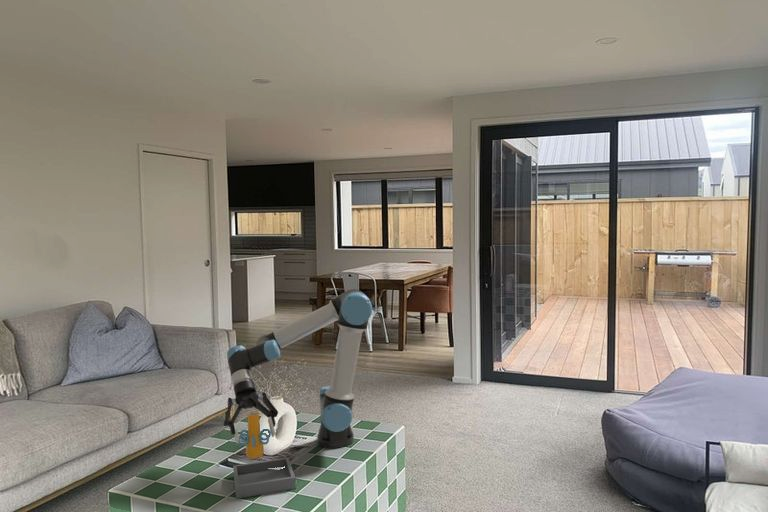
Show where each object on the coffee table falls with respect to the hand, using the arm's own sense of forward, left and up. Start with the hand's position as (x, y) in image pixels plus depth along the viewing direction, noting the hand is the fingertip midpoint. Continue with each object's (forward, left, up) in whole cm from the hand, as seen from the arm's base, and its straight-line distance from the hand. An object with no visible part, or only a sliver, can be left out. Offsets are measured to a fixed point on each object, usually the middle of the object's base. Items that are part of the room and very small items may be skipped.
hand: (256, 438), depth 205 cm
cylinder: (0, -3, -7) cm, 8 cm away
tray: (-2, -1, -17) cm, 17 cm away
